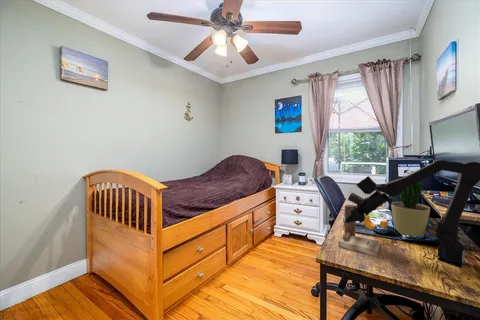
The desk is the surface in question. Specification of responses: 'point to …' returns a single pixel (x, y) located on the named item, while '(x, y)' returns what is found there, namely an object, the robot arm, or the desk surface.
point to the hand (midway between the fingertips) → (346, 220)
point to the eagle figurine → (430, 231)
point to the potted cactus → (410, 212)
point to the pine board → (360, 244)
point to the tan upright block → (351, 225)
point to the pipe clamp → (371, 225)
